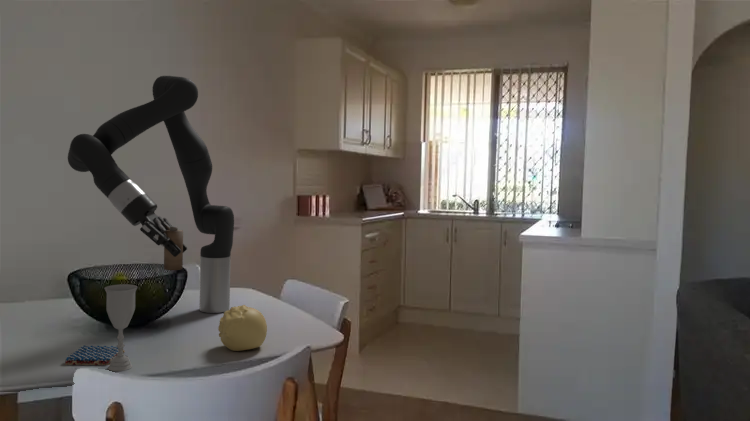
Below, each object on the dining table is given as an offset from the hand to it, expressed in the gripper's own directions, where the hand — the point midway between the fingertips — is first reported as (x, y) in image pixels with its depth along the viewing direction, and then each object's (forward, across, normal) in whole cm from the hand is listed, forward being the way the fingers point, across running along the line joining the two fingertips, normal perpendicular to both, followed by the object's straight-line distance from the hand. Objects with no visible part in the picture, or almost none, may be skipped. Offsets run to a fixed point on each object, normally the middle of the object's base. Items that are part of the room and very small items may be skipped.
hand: (181, 252), depth 148 cm
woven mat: (+6, -10, +29) cm, 31 cm away
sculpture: (+28, +1, +6) cm, 29 cm away
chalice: (+11, -16, +23) cm, 30 cm away
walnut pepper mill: (+2, 0, +4) cm, 5 cm away
